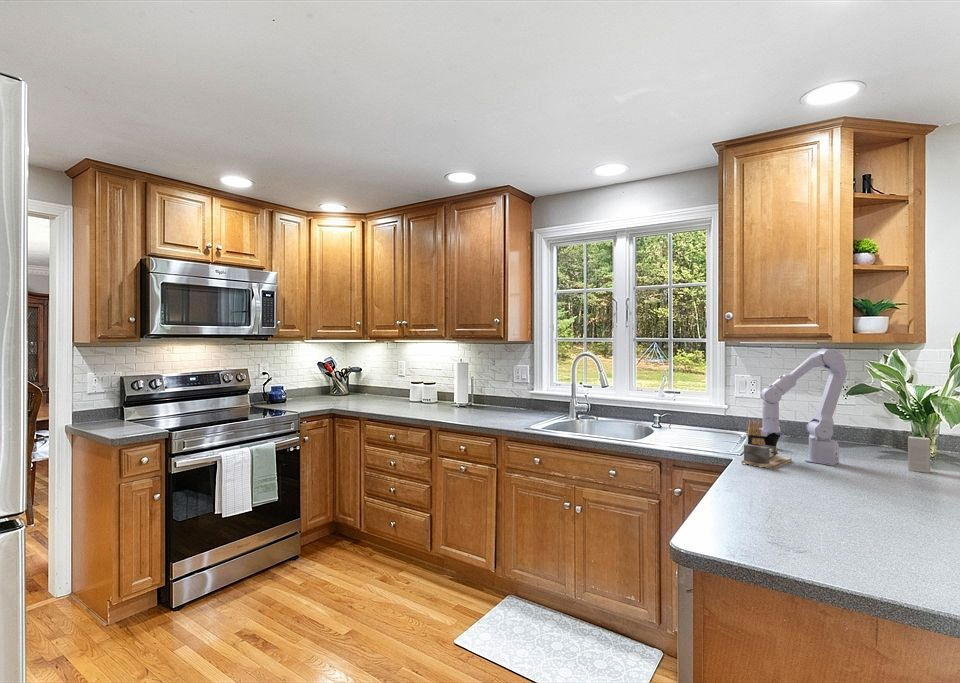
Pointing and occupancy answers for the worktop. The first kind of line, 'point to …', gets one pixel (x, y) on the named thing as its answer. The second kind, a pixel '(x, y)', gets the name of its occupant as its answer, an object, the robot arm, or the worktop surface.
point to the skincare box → (919, 454)
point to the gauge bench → (771, 462)
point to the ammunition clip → (755, 434)
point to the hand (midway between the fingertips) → (770, 452)
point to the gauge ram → (771, 450)
